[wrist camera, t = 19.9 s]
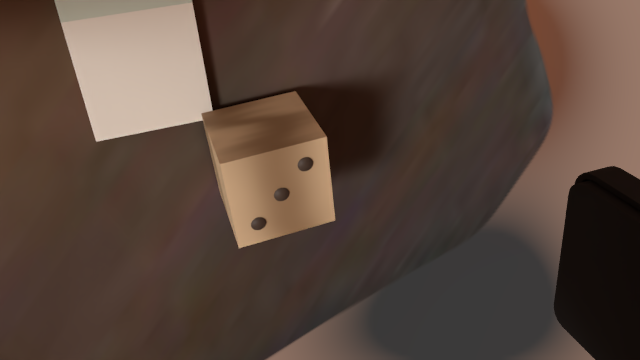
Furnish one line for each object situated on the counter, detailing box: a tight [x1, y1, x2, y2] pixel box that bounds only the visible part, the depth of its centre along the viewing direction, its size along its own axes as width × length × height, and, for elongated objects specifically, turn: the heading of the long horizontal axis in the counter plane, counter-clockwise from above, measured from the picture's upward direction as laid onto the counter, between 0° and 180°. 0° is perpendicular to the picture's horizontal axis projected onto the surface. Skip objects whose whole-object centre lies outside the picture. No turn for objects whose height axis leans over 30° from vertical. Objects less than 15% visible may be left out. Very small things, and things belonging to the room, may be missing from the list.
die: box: [201, 91, 335, 248], centre depth 36 cm, size 6×6×6 cm
